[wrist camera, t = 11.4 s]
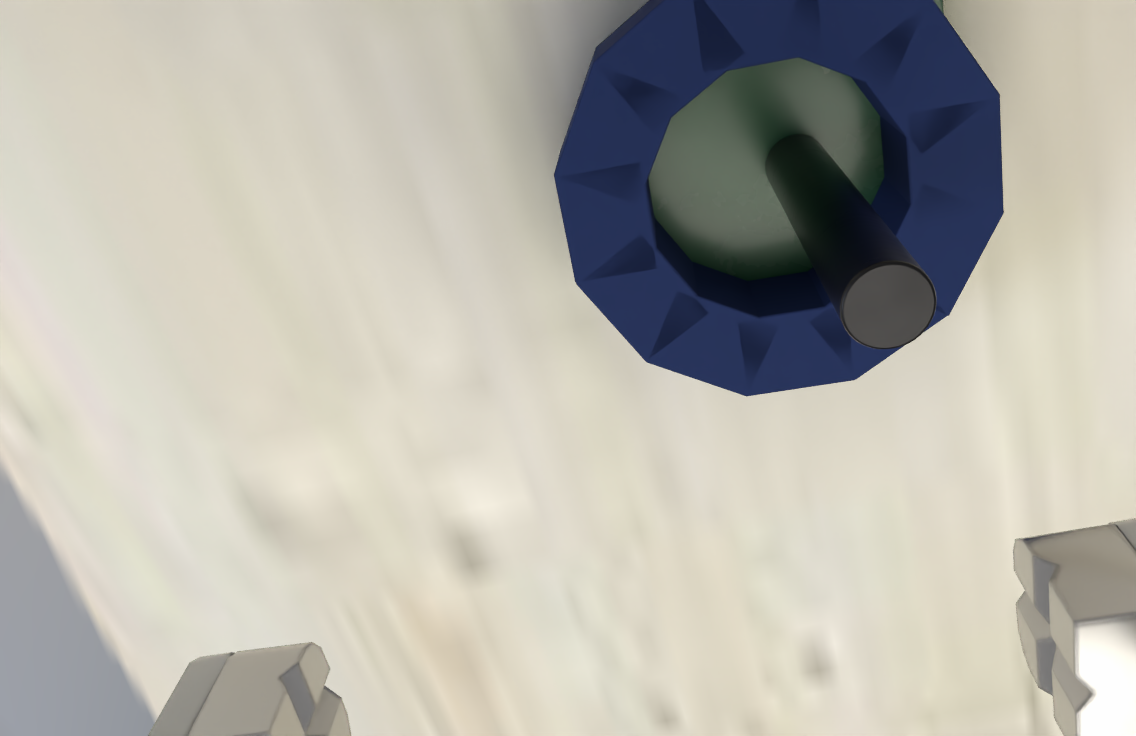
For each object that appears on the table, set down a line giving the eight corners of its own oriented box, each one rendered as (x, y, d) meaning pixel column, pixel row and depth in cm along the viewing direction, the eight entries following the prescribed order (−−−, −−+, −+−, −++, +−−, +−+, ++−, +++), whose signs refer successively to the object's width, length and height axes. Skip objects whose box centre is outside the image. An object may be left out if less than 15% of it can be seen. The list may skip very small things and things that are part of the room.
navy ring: (531, 1, 29) (520, 11, 27) (956, -85, 28) (995, -84, 25) (604, 374, 34) (602, 418, 31) (974, 317, 33) (1009, 358, 30)
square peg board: (616, 36, 31) (608, 119, 19) (929, -32, 30) (1136, 10, 18) (669, 318, 34) (693, 541, 22) (952, 267, 33) (1139, 473, 21)
